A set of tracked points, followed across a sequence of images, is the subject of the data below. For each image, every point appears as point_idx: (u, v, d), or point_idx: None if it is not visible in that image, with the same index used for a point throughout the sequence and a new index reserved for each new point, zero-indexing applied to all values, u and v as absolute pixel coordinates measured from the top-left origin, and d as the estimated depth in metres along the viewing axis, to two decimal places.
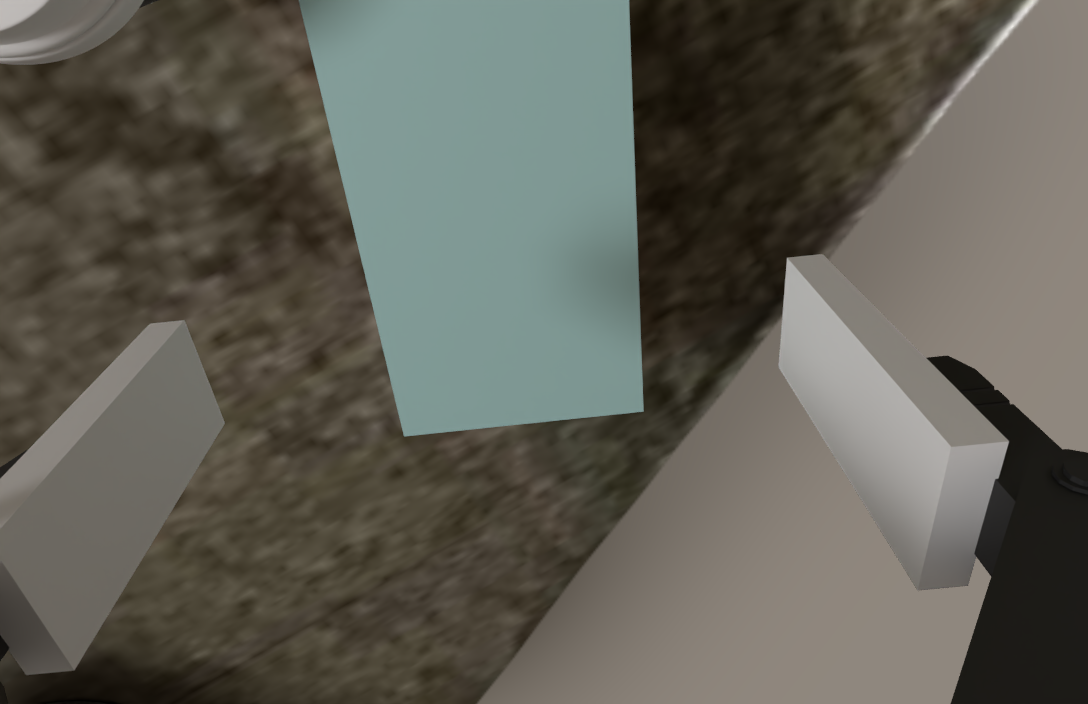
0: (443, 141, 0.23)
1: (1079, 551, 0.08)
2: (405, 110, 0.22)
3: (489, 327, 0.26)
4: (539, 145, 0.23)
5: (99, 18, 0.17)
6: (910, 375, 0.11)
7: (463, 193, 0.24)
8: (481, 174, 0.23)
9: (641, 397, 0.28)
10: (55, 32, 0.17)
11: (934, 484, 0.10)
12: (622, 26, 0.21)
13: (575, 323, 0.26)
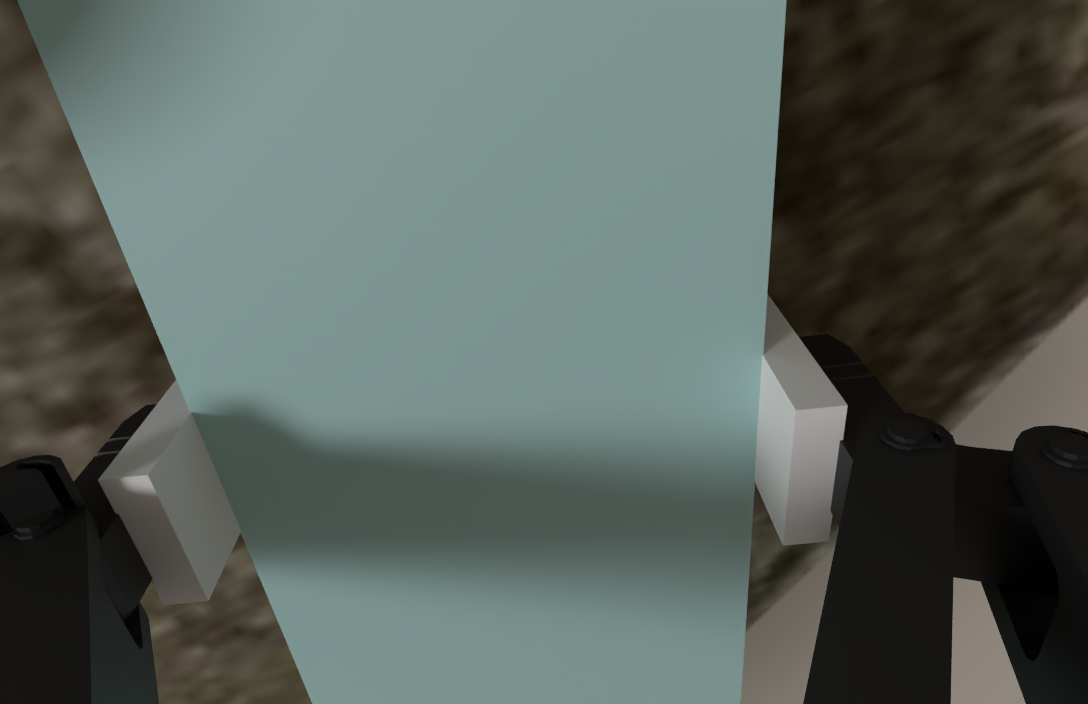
0: (382, 331, 0.11)
1: (907, 502, 0.09)
2: (300, 276, 0.11)
3: (477, 619, 0.15)
4: (575, 337, 0.11)
5: None
6: (778, 349, 0.12)
7: (425, 419, 0.12)
8: (460, 387, 0.12)
9: None
10: None
11: (788, 446, 0.11)
12: (763, 110, 0.10)
13: (631, 612, 0.15)
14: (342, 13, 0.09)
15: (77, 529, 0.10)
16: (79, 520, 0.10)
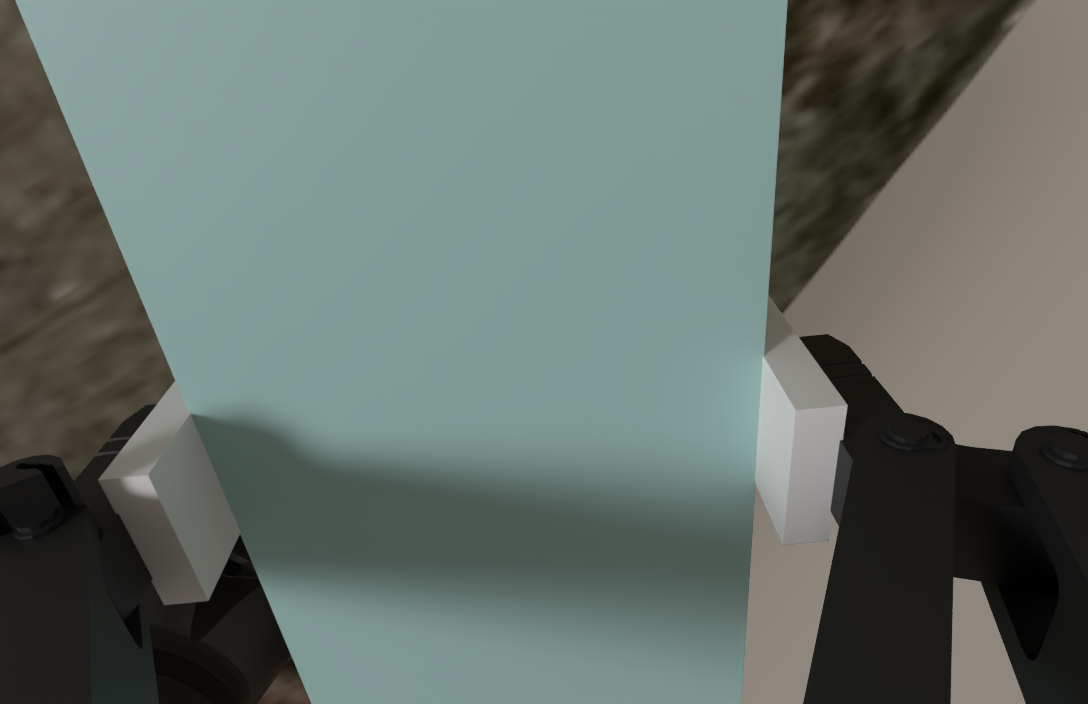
0: (382, 332, 0.11)
1: (907, 502, 0.09)
2: (300, 277, 0.11)
3: (477, 621, 0.15)
4: (576, 338, 0.11)
5: None
6: (777, 349, 0.12)
7: (424, 421, 0.12)
8: (460, 388, 0.12)
9: None
10: None
11: (787, 445, 0.11)
12: (763, 111, 0.10)
13: (632, 613, 0.15)
14: (340, 14, 0.09)
15: (77, 529, 0.10)
16: (79, 520, 0.10)
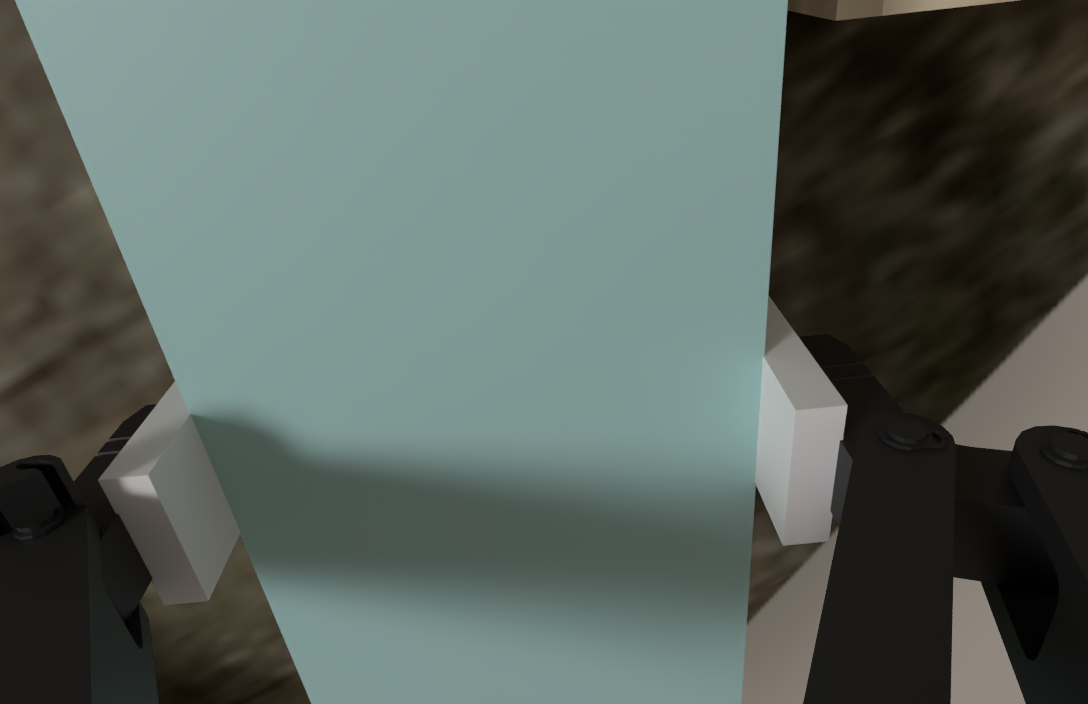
0: (381, 332, 0.11)
1: (907, 502, 0.09)
2: (299, 277, 0.11)
3: (477, 621, 0.15)
4: (576, 338, 0.11)
5: None
6: (777, 349, 0.12)
7: (425, 420, 0.12)
8: (459, 388, 0.12)
9: None
10: None
11: (787, 446, 0.11)
12: (764, 110, 0.10)
13: (632, 614, 0.15)
14: (340, 13, 0.09)
15: (77, 529, 0.10)
16: (79, 520, 0.10)
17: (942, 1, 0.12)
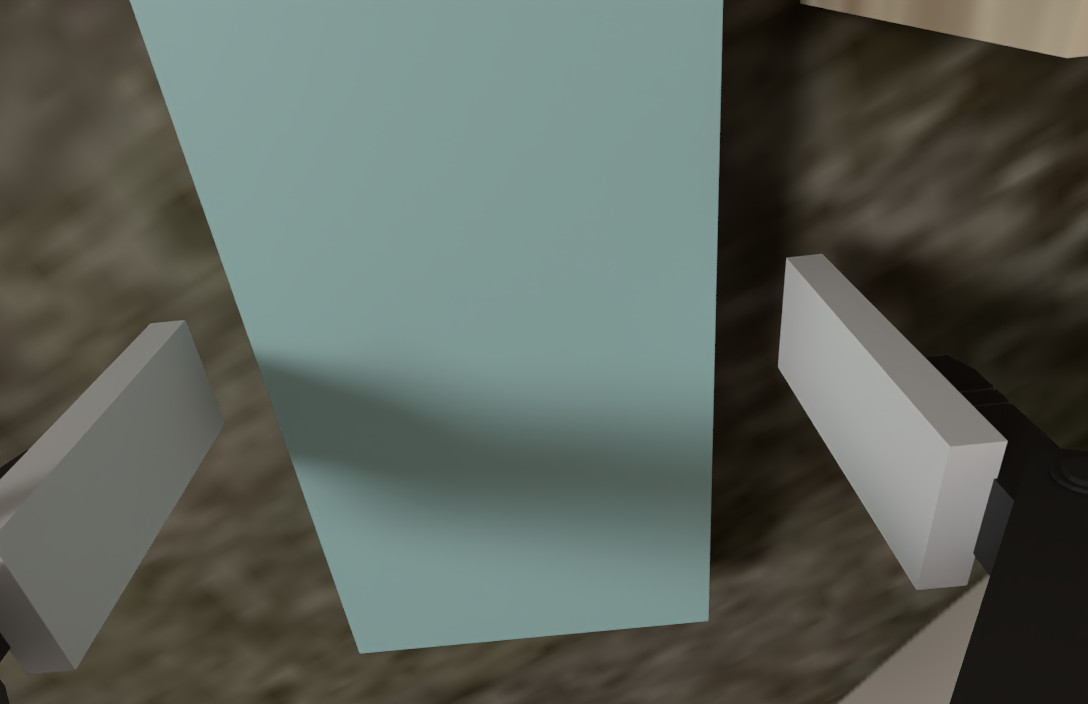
0: (404, 260, 0.14)
1: (1078, 551, 0.08)
2: (339, 213, 0.13)
3: (482, 519, 0.17)
4: (562, 265, 0.14)
5: None
6: (909, 375, 0.11)
7: (439, 338, 0.15)
8: (467, 309, 0.14)
9: (706, 604, 0.19)
10: None
11: (933, 484, 0.10)
12: (708, 76, 0.12)
13: (612, 513, 0.17)
14: None
15: None
16: None
17: None
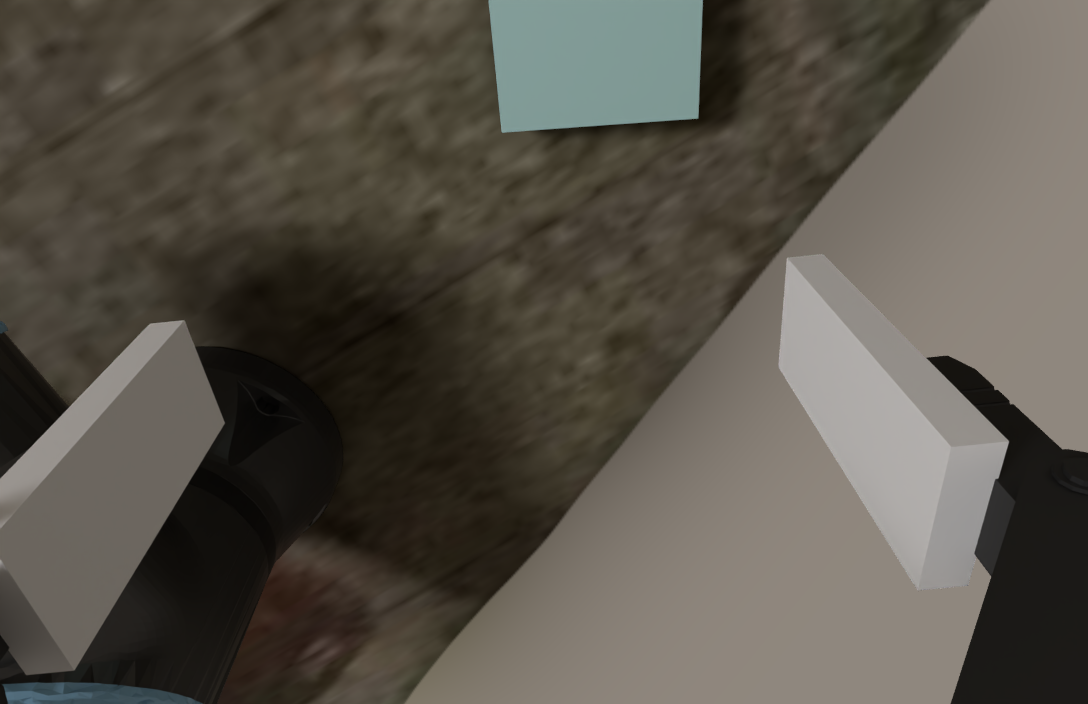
0: None
1: (1079, 551, 0.08)
2: None
3: (579, 27, 0.33)
4: None
5: None
6: (909, 375, 0.11)
7: None
8: None
9: (697, 104, 0.34)
10: None
11: (933, 484, 0.10)
12: None
13: (649, 27, 0.33)
14: None
15: None
16: None
17: None
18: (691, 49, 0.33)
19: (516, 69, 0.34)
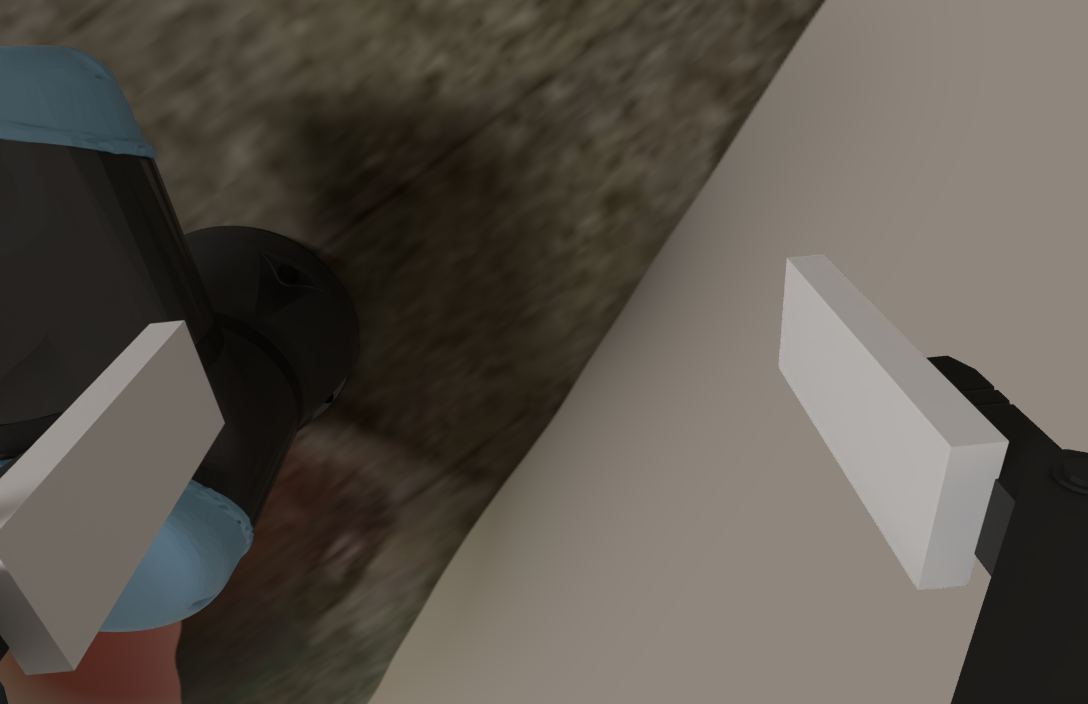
0: None
1: (1079, 551, 0.08)
2: None
3: None
4: None
5: None
6: (910, 375, 0.11)
7: None
8: None
9: None
10: None
11: (934, 484, 0.10)
12: None
13: None
14: None
15: None
16: None
17: None
18: None
19: None
